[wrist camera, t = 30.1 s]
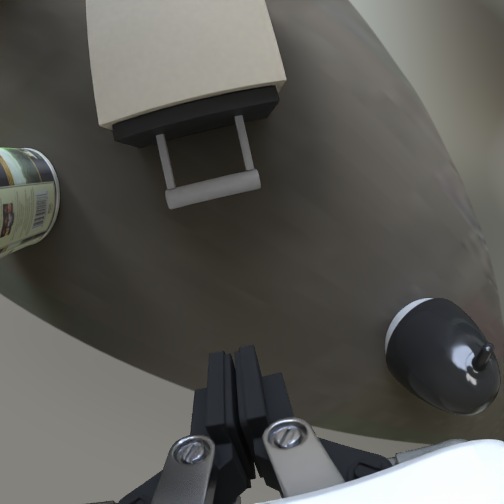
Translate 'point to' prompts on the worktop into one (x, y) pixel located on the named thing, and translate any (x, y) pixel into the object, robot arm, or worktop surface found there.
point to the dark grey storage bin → (197, 120)
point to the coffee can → (26, 198)
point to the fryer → (177, 53)
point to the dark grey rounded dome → (442, 357)
